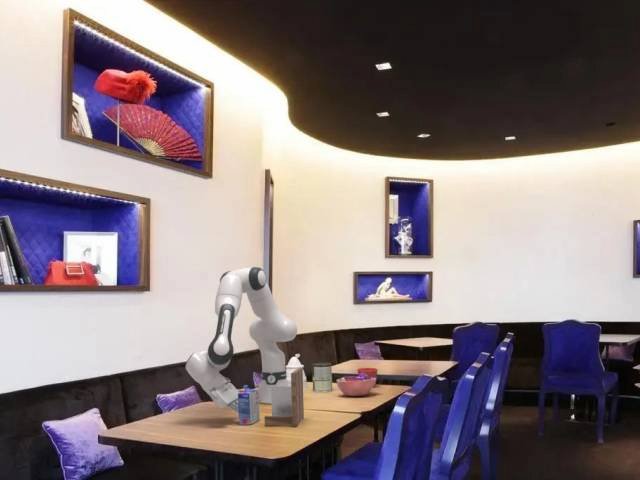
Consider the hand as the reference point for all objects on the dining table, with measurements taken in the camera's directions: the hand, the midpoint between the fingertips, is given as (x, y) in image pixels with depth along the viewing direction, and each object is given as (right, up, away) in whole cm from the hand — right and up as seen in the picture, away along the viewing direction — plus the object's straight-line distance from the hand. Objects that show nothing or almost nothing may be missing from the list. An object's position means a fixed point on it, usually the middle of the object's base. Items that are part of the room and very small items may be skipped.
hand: (240, 411), depth 242 cm
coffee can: (+33, -11, +75) cm, 82 cm away
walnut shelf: (+17, -4, -3) cm, 18 cm away
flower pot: (+57, -11, +83) cm, 102 cm away
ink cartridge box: (+4, -4, -1) cm, 6 cm away
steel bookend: (+18, -4, +5) cm, 19 cm away
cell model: (+50, -8, +56) cm, 76 cm away
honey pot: (+18, -13, +90) cm, 92 cm away
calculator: (-9, -11, +60) cm, 61 cm away
